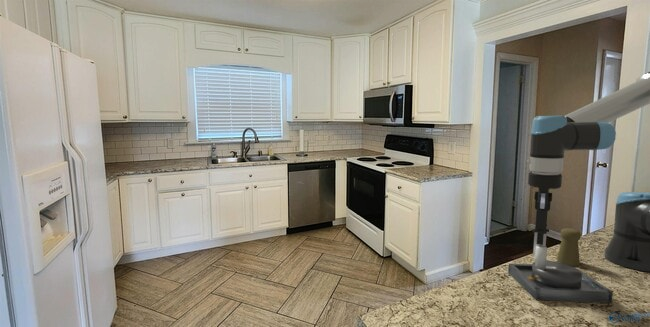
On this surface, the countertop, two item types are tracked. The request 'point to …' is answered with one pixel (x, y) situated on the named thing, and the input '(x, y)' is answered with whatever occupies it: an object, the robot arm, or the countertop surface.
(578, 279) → the lever
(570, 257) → the cork
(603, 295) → the dark grey tray
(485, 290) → the countertop surface
